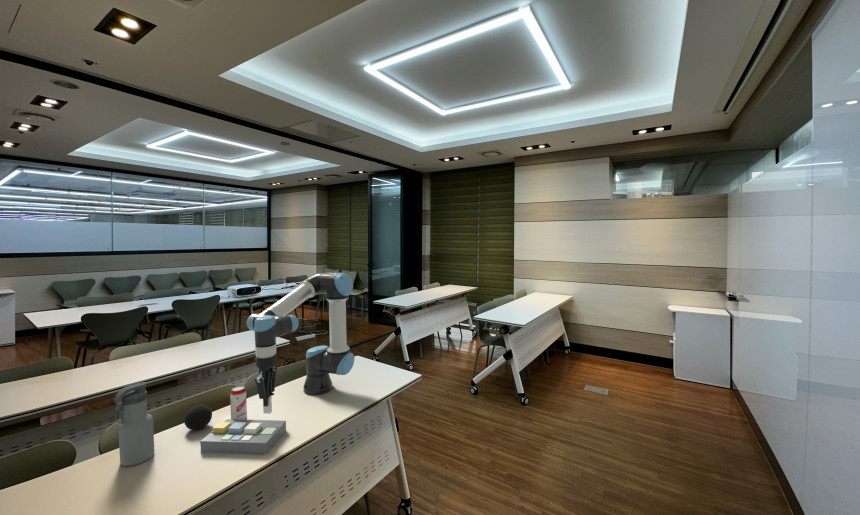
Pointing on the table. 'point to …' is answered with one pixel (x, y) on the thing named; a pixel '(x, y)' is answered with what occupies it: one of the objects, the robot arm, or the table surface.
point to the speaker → (198, 417)
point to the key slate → (237, 428)
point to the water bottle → (134, 425)
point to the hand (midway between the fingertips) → (267, 412)
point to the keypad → (244, 439)
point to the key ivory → (253, 428)
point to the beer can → (238, 403)
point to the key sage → (268, 431)
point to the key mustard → (221, 427)
